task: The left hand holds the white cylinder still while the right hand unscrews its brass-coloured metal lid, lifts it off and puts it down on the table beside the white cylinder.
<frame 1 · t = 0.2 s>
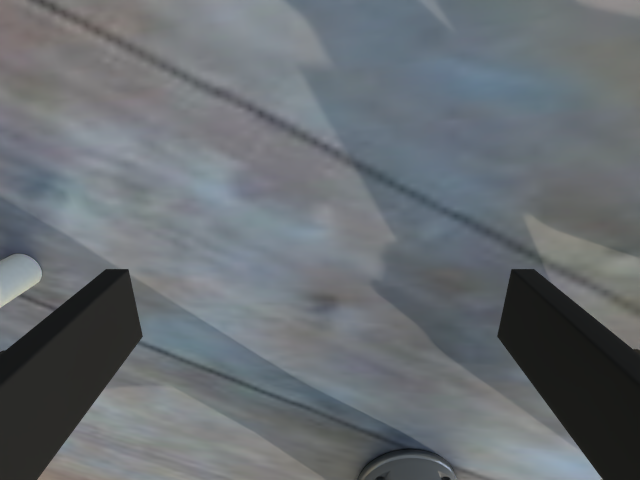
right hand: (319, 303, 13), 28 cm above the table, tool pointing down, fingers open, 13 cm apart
white cylinder: (23, 269, 43), on the table
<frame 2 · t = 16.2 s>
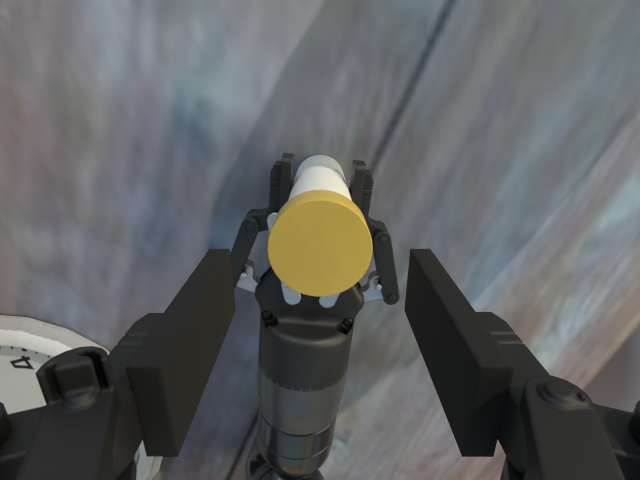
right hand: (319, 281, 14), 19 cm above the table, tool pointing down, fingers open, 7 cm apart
left hand: (323, 159, 25), fingers closed on white cylinder, 4 cm apart
wall clock: (36, 423, 42), on the table
lid: (319, 247, 17), point 16 cm above the table, screwed on, not yet turned
white cylinder: (319, 179, 32), on the table, touching left hand
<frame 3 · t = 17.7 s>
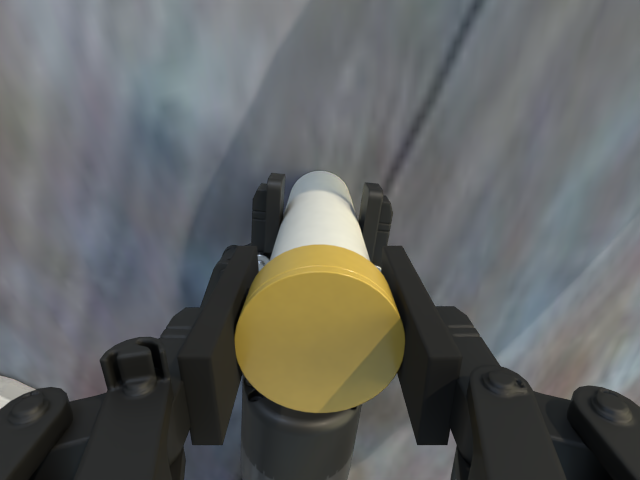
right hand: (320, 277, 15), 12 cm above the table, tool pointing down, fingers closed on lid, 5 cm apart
lid: (319, 341, 11), point 16 cm above the table, screwed on, not yet turned, touching right hand
white cylinder: (319, 200, 25), on the table, touching left hand
when the right hand's fingers open (12 cm above the table, at t = 19.2 s): lid stays where it is, point 16 cm above the table.
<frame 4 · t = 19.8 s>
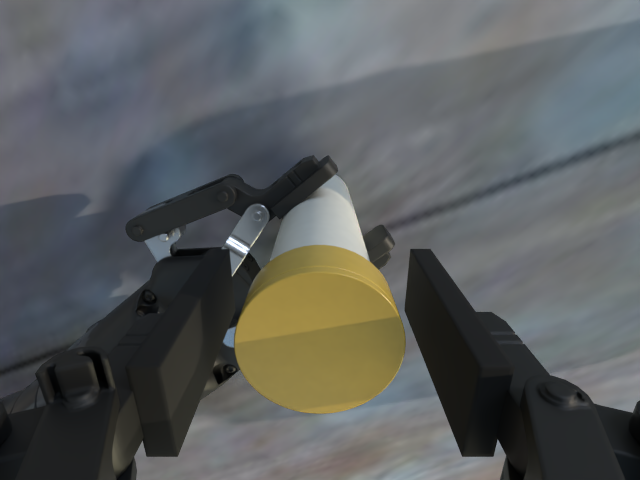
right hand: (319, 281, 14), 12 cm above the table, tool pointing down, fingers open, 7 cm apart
lid: (319, 341, 11), point 16 cm above the table, turned 97° so far, risen 0.3 cm, still on its thread
white cylinder: (319, 199, 26), on the table, touching left hand
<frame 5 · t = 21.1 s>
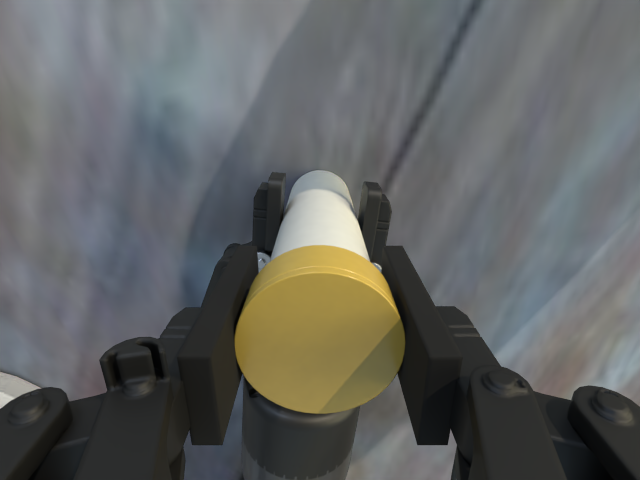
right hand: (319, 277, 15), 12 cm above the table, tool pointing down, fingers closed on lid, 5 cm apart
lid: (319, 341, 11), point 16 cm above the table, turned 97° so far, risen 0.3 cm, still on its thread, touching right hand
white cylinder: (319, 200, 26), on the table, touching left hand
when the right hand's fingers open (0 cm above the table, at t = 27.7 s): lid drops 3 cm, point 2 cm above the table.
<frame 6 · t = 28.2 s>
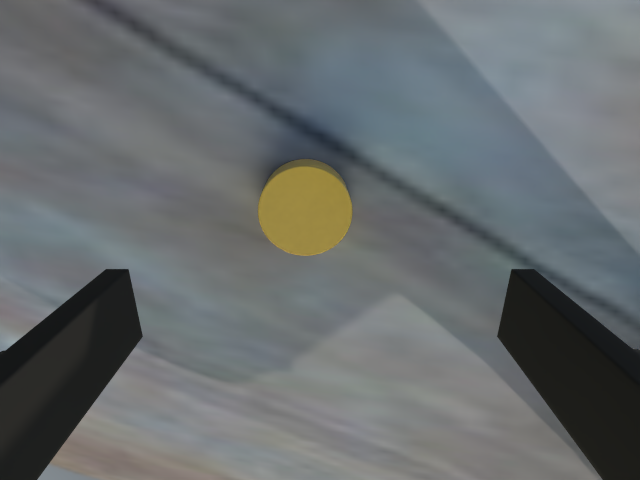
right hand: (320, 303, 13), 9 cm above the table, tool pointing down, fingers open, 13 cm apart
lid: (305, 211, 19), point 2 cm above the table, off its thread
when the left hand's fingers open (7 cm above the table, at t = 28.4 s): white cylinder stays where it is, on the table.
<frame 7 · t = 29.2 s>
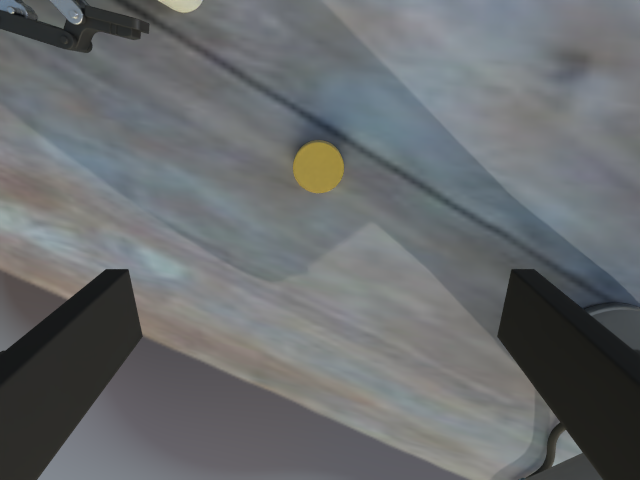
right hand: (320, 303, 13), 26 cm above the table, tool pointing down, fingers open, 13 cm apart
lid: (318, 167, 36), point 2 cm above the table, off its thread
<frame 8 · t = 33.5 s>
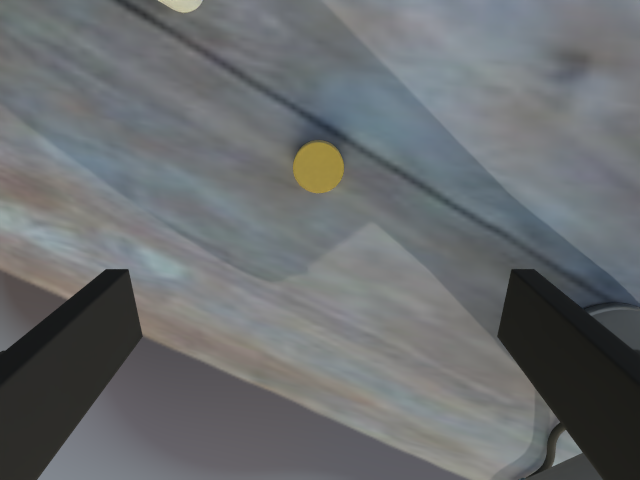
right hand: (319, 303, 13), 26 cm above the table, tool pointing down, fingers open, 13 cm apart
lid: (318, 167, 36), point 2 cm above the table, off its thread
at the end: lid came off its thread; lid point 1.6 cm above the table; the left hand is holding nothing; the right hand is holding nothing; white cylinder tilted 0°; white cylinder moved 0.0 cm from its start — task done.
